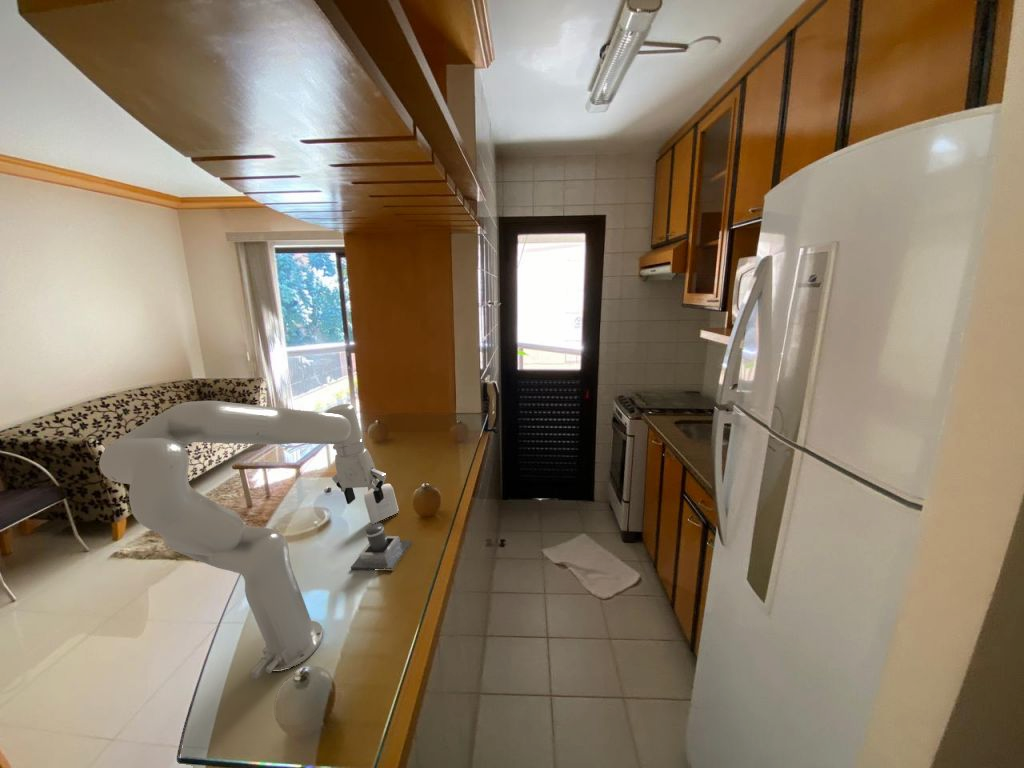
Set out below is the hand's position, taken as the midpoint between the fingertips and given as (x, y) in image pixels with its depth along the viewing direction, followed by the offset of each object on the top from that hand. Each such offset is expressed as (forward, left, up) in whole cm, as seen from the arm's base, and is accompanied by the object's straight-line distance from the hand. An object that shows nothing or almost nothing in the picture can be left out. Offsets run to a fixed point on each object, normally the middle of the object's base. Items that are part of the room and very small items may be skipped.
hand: (365, 501), depth 116 cm
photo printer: (+20, +11, -20) cm, 30 cm away
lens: (0, 0, -18) cm, 18 cm away
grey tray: (0, 0, -19) cm, 19 cm away
